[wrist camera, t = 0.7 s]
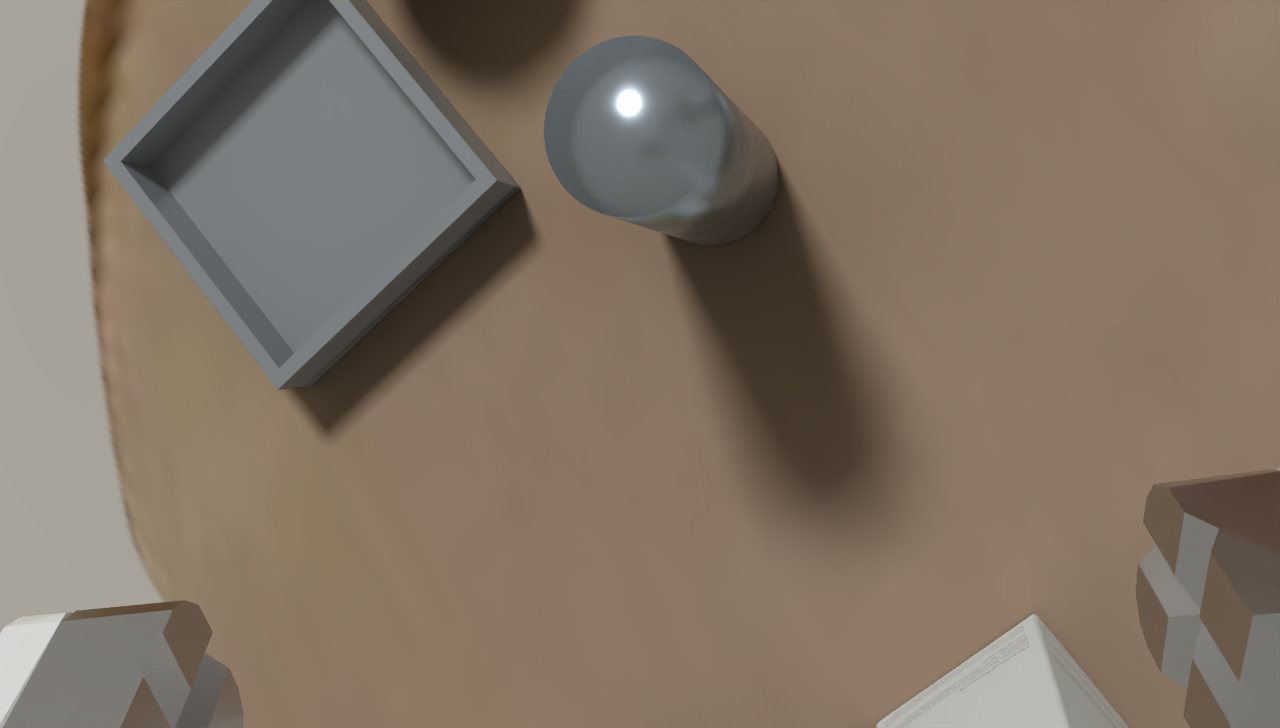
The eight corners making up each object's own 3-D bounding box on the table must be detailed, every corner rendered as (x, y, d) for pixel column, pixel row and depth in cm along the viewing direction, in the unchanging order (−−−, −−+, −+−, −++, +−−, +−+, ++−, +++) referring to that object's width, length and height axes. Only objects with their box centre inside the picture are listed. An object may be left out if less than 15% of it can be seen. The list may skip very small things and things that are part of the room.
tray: (336, -35, 48) (304, -55, 45) (520, 188, 46) (497, 180, 44) (143, 168, 50) (102, 160, 48) (310, 386, 49) (277, 389, 46)
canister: (720, 84, 44) (639, -3, 32) (806, 183, 43) (755, 131, 32) (622, 174, 45) (510, 122, 33) (705, 273, 44) (619, 254, 33)
